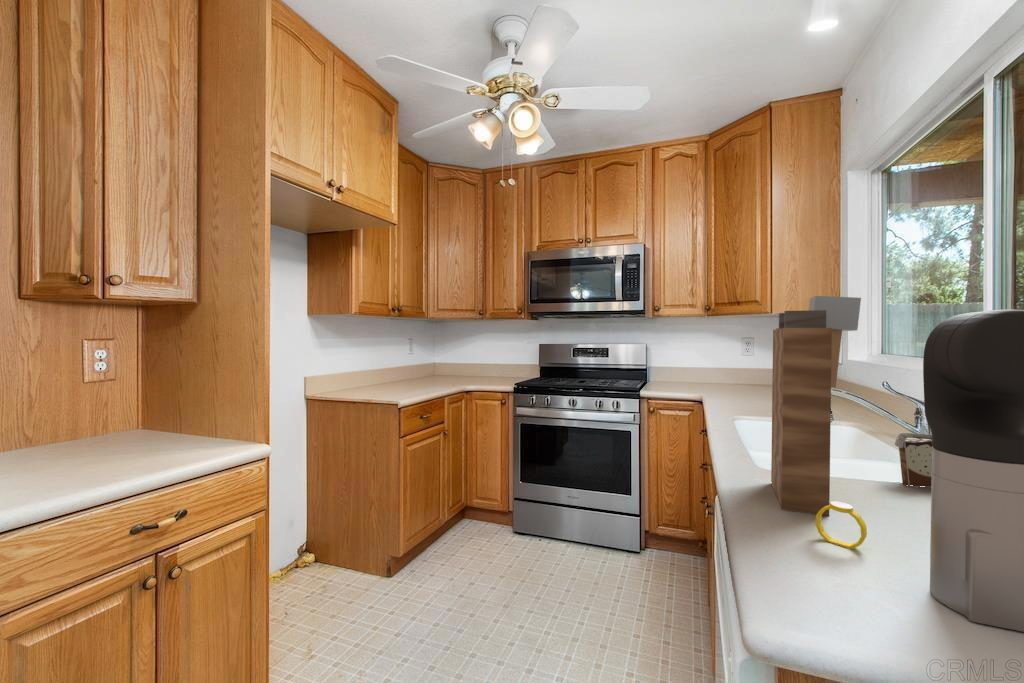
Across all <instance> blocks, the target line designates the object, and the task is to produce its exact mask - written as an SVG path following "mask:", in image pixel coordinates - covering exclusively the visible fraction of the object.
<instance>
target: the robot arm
mask: <svg viewBox="0 0 1024 683" xmlns="http://www.w3.org/2000/svg"><path fill="white" fill-rule="evenodd" d="M922 358H923V360H922V366H923V367H922V371H923V373H922V374H923V376H922V378H923V399H924V400H923V402H924V403H923V404H924V414H925V419H926V422H927V424H928V427H929V430H930V432H931V433H930V434H931V435H932V480H931V488H930V490H931V492H930V495H931V496H930V538H929V540H930V544H929V545H930V546H929V550H930V551H929V559H930V560H929V562H930V563H929V570H930V571H929V591H930V594H931V595H932V597H934V598H935V599H936V600H937V601H938V602H939V603H941V604H943V605H944V606H946V607H948V608H949V609H952V610H953V611H955V612H958V613H959V614H961V615H963V616H965V617H966V619H968V620H969V621H970V622H974V623H977V624H983V625H987V626H993V627H998V628H1003V629H1008V630H1013V631H1018V632H1024V309H1015V308H1014V309H1013V308H1012V309H1010V308H1008V309H1006V308H1005V309H994V310H993V309H992V310H985V311H984V310H983V311H973V312H967V313H960V314H957V315H953V316H950V317H948V318H945V319H944V320H943V321H941V322H939V323H938V324H937V325H936V326H935V327H934V328H933V329H932V331H931V332H930V333H929V335H928V337H927V338H926V342H925V344H924V349H923V357H922Z"/></svg>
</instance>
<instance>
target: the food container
mask: <svg viewBox="0 0 1024 683" xmlns="http://www.w3.org/2000/svg"><path fill="white" fill-rule="evenodd" d="M894 445H895V447H898V450H899V452H898V454H899V463H900V470H901V471H900V472H901V480H902V482H901V483H902V485H904V484H905V485H908V486H910V485H913V486H912V487H911V488H918V487H920V486H925V487H931V480H932V434H930V433H929V434H927V433H912V432H911V433H909V432H908V433H899V434H897V437H896V439H895V443H894ZM905 485H904V486H905Z"/></svg>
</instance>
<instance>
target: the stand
mask: <svg viewBox="0 0 1024 683" xmlns="http://www.w3.org/2000/svg"><path fill="white" fill-rule="evenodd" d="M831 351H832V328H826V310H809V309H808V310H784V312H780V313H778V327H777V328H775V329H773V330H772V381H771V382H772V387H771V388H772V389H771V392H772V393H771V394H772V395H771V396H772V397H771V398H772V401H771V407H772V408H771V464H770V466H771V468H770V469H771V473H770V474H771V475H770V478H771V479H770V482H772V484H771V486H772V485H773V486H772V489H773V488H774V489H773V491H774V490H775V491H774V494H775V493H776V494H775V496H776V498H777V502H778V504H779V506H780V509H781V510H783V511H789V512H790V511H791V512H797V513H804V514H811V515H813V514H814V515H817V513H818V512H819V511H820V510H821V509H822V508H823V507H825V506H828V505H830V501H831V500H830V496H831V495H830V492H831V491H830V488H831V487H830V486H831V485H830V484H831V483H830V482H831V480H830V478H831V476H830V475H831V420H832V419H831V416H832V415H831V412H832V411H831V409H832V406H831V405H832V400H831V399H832V387H831ZM822 516H825V517H830V509H827V510H825V511H824V512H823V514H822Z"/></svg>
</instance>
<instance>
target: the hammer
mask: <svg viewBox="0 0 1024 683" xmlns="http://www.w3.org/2000/svg"><path fill="white" fill-rule="evenodd" d="M861 300H862V297H856V296H855V297H851V296H850V297H849V296H832V295H831V296H828V295H814V296H813V297H810V298H809V305H808V307H809V308H808V311H809V310H826V328H832V351H831V388H837V380H838V370H839V362H840V361H839V360H840V351H841V345H842V344H841V343H842V334H843V332H846V331H847V332H853V331H855V332H856V331H858V328H859V319H860V308H861V302H862V301H861Z"/></svg>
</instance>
